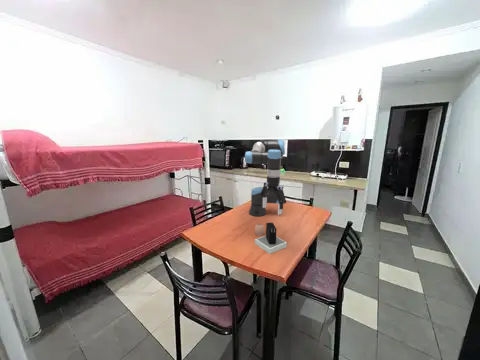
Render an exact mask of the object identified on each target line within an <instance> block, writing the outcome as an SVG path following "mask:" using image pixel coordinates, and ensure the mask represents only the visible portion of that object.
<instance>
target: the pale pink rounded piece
mask: <svg viewBox="0 0 480 360" xmlns="http://www.w3.org/2000/svg"><path fill="white" fill-rule="evenodd" d="M254 227H255V228H254V233H255V236H259V237H263V236H264V234H265V225H264V224H262V223H256V224H255V226H254Z"/></svg>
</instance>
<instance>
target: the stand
mask: <svg viewBox="0 0 480 360" xmlns="http://www.w3.org/2000/svg"><path fill="white" fill-rule="evenodd" d="M254 244H255V245H256V246H258V247H259V249H260V248H261V249H262V250H263V251H265V252H266V253H267V254H269V255H272V254H274V253H275V252H279V251H281V250H283V249H286V248H287V247H288V243H287V241H285V240H283V239H282V238H280V237H279V236H276V244H269V243H268V241H267V238H266V235H262V236H259V237H258V238H255V239H254Z"/></svg>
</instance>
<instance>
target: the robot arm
mask: <svg viewBox="0 0 480 360" xmlns="http://www.w3.org/2000/svg"><path fill="white" fill-rule="evenodd" d="M285 151H286V150H285V142H284V140H283V139H261V140H259V141H256V142H255V143H254V144H253V146H252V149H251V151H248V150H247V151H245V154H244V161H245V163H246V164H259V165H260V164H263V165H267V168H266V169H267V170H266V181H265V182H264V183H263V186H258V187H254V188H252V189H251V192H250V193H251V194H250V195H251V197H250V198H251V201H250V202H251V203H250V207H249V210H248V214H249V215H250V216H253V217H264V216H266V215H267V210H266V208H267V205H268V204H277V205H278V206H277V216H278V215H282V214H283V209H284V205H285V204H287V199H286V196H285V193H284V186H283V185H281V186H280V183H281V164H282V163H281V162H282V158H283V157H284V155H285V154H286V152H285Z"/></svg>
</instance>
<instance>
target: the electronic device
mask: <svg viewBox="0 0 480 360" xmlns="http://www.w3.org/2000/svg"><path fill="white" fill-rule="evenodd" d="M265 229H266V230H265V236H266V238H267V241H268V243H269V244H276V237H277V228H276V226H275V224H274V222H266V225H265Z"/></svg>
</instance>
